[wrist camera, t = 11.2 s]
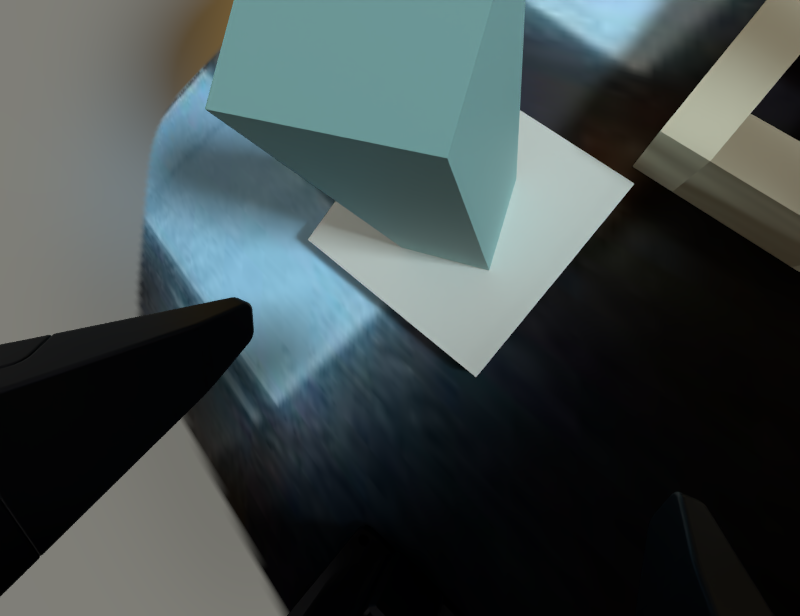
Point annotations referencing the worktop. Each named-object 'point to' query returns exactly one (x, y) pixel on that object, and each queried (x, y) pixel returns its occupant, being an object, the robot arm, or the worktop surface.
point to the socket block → (738, 139)
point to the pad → (513, 259)
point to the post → (385, 109)
